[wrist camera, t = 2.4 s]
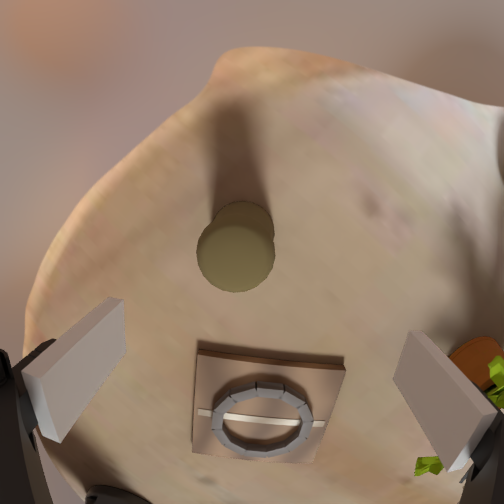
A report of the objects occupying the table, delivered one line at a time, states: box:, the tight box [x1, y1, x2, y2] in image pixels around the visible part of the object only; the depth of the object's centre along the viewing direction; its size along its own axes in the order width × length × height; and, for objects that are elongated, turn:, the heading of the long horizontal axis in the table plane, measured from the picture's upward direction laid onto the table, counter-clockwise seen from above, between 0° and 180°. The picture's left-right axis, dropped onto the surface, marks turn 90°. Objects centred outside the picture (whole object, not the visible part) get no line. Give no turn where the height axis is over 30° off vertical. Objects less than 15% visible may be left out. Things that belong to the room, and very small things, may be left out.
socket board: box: [192, 349, 346, 464], centre depth 33 cm, size 16×16×2 cm
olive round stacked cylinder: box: [196, 201, 275, 293], centre depth 25 cm, size 6×6×11 cm
